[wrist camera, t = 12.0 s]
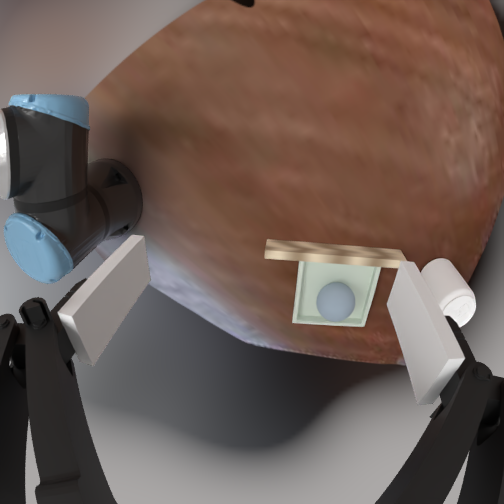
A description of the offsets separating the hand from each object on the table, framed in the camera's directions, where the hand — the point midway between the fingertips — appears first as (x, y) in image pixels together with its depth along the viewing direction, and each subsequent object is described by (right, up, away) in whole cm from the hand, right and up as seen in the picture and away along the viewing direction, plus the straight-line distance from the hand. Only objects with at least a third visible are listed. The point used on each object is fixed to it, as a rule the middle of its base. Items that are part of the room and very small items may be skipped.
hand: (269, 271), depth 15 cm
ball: (+14, -6, +39) cm, 42 cm away
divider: (+14, +2, +36) cm, 38 cm away
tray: (+14, -6, +40) cm, 43 cm away
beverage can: (+35, -3, +35) cm, 50 cm away
